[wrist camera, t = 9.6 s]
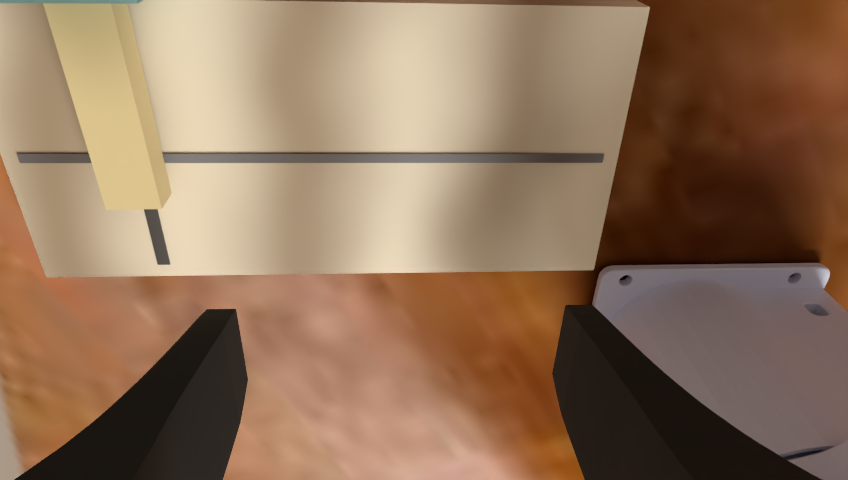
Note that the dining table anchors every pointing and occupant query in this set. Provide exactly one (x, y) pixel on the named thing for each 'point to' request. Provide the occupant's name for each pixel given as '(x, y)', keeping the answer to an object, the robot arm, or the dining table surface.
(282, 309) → the dining table surface
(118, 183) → the teal cube mallet
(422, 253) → the board
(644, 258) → the dining table surface
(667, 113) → the dining table surface
